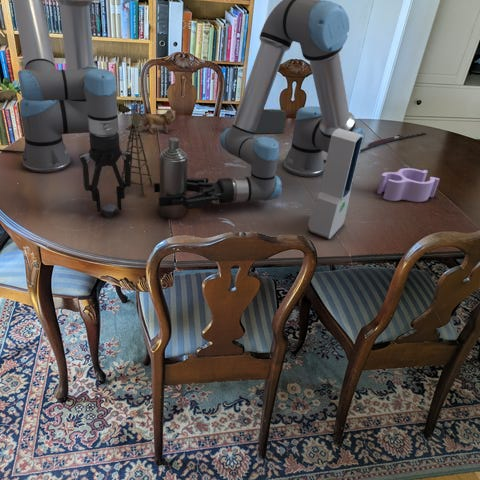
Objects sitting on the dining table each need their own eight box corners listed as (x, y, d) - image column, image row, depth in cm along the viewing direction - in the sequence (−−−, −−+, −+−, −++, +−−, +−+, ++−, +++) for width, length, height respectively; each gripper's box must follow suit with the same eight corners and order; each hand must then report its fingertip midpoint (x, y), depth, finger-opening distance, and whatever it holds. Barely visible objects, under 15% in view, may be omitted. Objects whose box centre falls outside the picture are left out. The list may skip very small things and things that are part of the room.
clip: (390, 204, 157) (396, 186, 154) (370, 187, 167) (375, 170, 163) (438, 200, 164) (444, 182, 160) (416, 184, 173) (422, 167, 170)
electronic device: (328, 241, 134) (351, 142, 118) (305, 232, 137) (324, 134, 121) (344, 224, 143) (367, 130, 127) (322, 215, 146) (342, 123, 130)
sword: (406, 133, 221) (407, 131, 220) (412, 136, 219) (412, 133, 218) (363, 145, 205) (363, 143, 204) (368, 148, 203) (369, 145, 202)
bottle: (159, 218, 136) (158, 143, 124) (160, 205, 143) (160, 133, 130) (185, 218, 138) (188, 145, 125) (185, 206, 144) (188, 134, 132)
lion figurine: (173, 128, 199) (174, 107, 194) (176, 132, 195) (177, 111, 190) (139, 129, 194) (138, 108, 189) (141, 134, 190) (140, 112, 185)
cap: (119, 212, 137) (118, 206, 136) (112, 218, 134) (111, 212, 133) (106, 209, 138) (106, 203, 137) (99, 215, 135) (99, 209, 133)
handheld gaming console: (281, 130, 209) (284, 108, 204) (284, 133, 207) (287, 110, 202) (233, 132, 202) (235, 109, 197) (235, 134, 200) (237, 111, 195)
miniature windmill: (143, 196, 146) (140, 101, 130) (117, 192, 147) (112, 96, 131) (153, 184, 154) (152, 93, 137) (129, 180, 155) (125, 88, 138)
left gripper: (69, 139, 116) (78, 219, 129) (141, 135, 123) (143, 212, 136) (66, 129, 122) (75, 206, 135) (135, 125, 129) (137, 200, 141)
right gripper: (240, 217, 136) (162, 223, 129) (221, 185, 152) (151, 189, 146) (242, 195, 132) (162, 200, 125) (223, 164, 148) (151, 167, 142)
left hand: (109, 209), depth 135 cm, fingers open, 5 cm apart
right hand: (156, 194), depth 135 cm, fingers closed on bottle, 8 cm apart
